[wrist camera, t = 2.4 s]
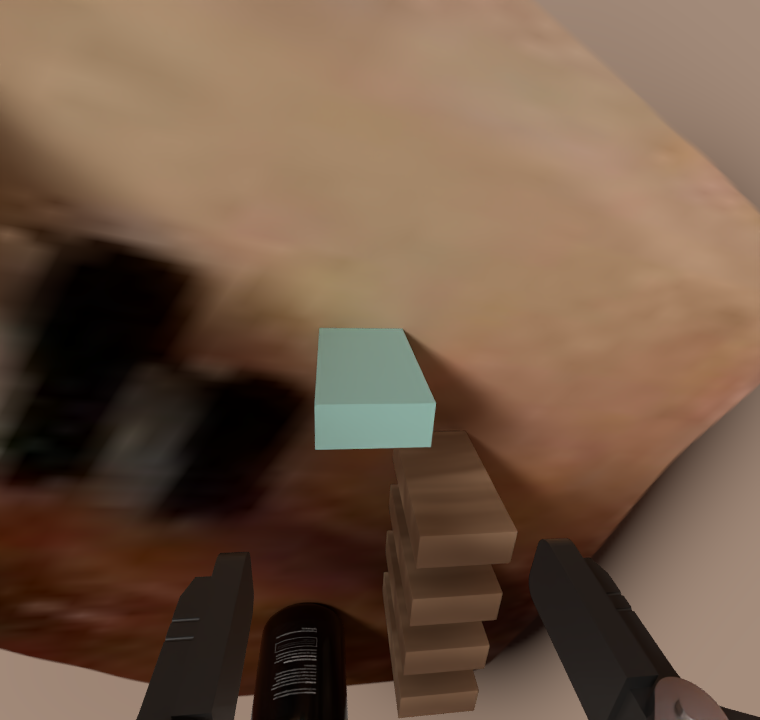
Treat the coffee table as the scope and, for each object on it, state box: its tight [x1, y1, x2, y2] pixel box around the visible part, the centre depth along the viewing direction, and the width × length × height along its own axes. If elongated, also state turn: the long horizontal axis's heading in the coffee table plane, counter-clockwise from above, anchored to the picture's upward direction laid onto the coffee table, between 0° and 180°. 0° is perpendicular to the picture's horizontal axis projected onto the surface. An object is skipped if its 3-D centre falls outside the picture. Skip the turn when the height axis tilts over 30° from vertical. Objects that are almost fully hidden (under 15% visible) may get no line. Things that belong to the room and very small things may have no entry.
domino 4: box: [385, 531, 490, 675], centre depth 29 cm, size 2×5×9 cm, turn 87°
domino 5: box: [383, 572, 479, 718], centre depth 31 cm, size 2×5×9 cm, turn 87°
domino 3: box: [389, 484, 503, 626], centre depth 27 cm, size 2×5×9 cm, turn 87°
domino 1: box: [315, 328, 436, 450], centre depth 22 cm, size 2×5×9 cm, turn 87°
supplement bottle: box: [251, 603, 348, 720], centre depth 31 cm, size 7×7×12 cm
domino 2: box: [393, 431, 518, 569], centre depth 25 cm, size 2×5×9 cm, turn 87°
